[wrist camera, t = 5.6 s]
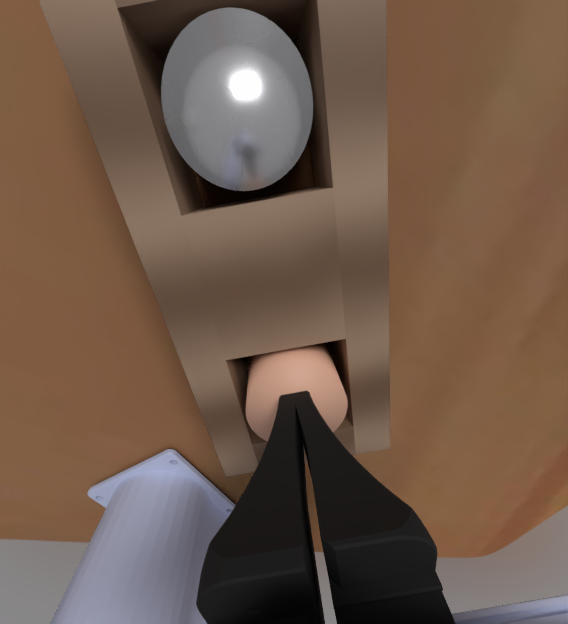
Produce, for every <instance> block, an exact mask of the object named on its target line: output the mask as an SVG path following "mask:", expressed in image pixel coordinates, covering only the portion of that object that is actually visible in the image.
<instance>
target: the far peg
mask: <svg viewBox="0 0 568 624" xmlns="http://www.w3.org/2000/svg"><path fill="white" fill-rule="evenodd" d="M301 391H308V392H310V395H311V398H312V400H313V402H314V404H315V406H316V408H317V409H318V411H319V413H320V414H321V416H322V417H323V419H324V420H325V422H326V423H327V425H328V426H329V428H330V429H331V431H332V432H334V431H335V430H336V429H337V428H338V427H339V426H340V425H341V423H342V422H343V420H344V418H345V415H346V412H347V407H348V401H347V396H346V393H345V391H344V388H343V386H342V383H341V381H340V378H339V375H338V373H337V370H336V368H335V365H334V363H333V360H332V358H331V355H330V353H329V350H328V347H327V345H326V344H325V343H319V344H314V345H308V346H303V347H297V348H292V349H286V350H280V351H275V352H269V353H264V354H258V355H253V356H250V361H249V373H248V386H247V398H246V418H247V421H248V424H249V425H250V427H251V429H252V430H253V431H254V432H255V433H256V434H257V435H258V436H259V437H261V438H262V439H264V440H266V441H268V439H269V437H270V434H271V431H272V428H273V424H274V421H275V417H276V413H277V409H278V403H279V397H280V396H281V395H285V394H290V393H296V392H301ZM303 446H304V445H303Z"/></svg>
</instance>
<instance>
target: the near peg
mask: <svg viewBox="0 0 568 624" xmlns="http://www.w3.org/2000/svg"><path fill="white" fill-rule="evenodd" d="M161 101H162V109H163V114H164V119H165V123H166V126H167V129H168V132H169V134H170V137H171V139H172V141H173V143H174V145H175V147H176V148H177V150H178V152H179V153H180V155H181V156H182V157H183V159H184V160H185V161H186V162H187V164H188V165H189V166H190V167H191V168H192V169H193V170H194V171H195V172H197V173H198V174H199V175H200V176H201V177H203V178H204V179H206V180H208V181H209V182H211V183H213V184H215V185H217V186H219V187H223V188H226V189H230V190H236V191H251V190H257V189H261V188H264V187H266V186H269V185H271V184H273V183H274V182H276V181H278V180H279V179H281V178H282V177H283V176H284V175H286V174H287V173H288V172H289V171H290V170H291V168H292V167H293V166H294V165H295V163H296V162H297V161H298V159H299V158H300V156H301V154H302V152H303V151H304V148H305V146H306V143H307V141H308V138H309V134H310V131H311V125H312V119H313V95H312V88H311V83H310V79H309V75H308V72H307V69H306V66H305V64H304V61H303V59H302V57H301V55H300V53H299V52H298V50H297V48H296V47H295V45H294V44H293V42H292V41H291V39H290V38H289V37H288V36H287V35H286V34H285V33H284V31H283V30H282V29H280V28H279V27H278V26H277V25H276V24H275V23H273V22H272V21H270V20H269V19H267V18H266V17H264V16H262V15H260V14H258V13H256V12H253V11H250V10H246V9H242V8H231V7H230V8H220V9H216V10H212V11H209V12H207V13H205V14H203V15H201V16H199V17H197V18H196V19H195V20H193V21H192V22H190V23H189V24H188V25H187V26H186V27H185V28H184V29H183V30H182V31H181V33H180V34H179V36H178V37H177V38H176V40H175V41H174V43H173V45H172V47H171V49H170V51H169V53H168V56H167V59H166V62H165V65H164V70H163V74H162V84H161Z"/></svg>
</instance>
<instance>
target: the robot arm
mask: <svg viewBox="0 0 568 624" xmlns="http://www.w3.org/2000/svg"><path fill="white" fill-rule="evenodd" d="M303 445H304V446H303ZM304 450H305V454H306V458H307V462H308V466H309V470H310V473H311V477H312V482H313V489H314V495H315V502H316V508H317V515H318V522H319V529H320V535H321V541H322V546H323V551H324V556H325V561H326V566H327V571H328V576H329V582H330V588H331V594H332V600H333V606H334V610H335V615H336V620H337V624H568V595H562V596H556V597H550V598H545V599H538V600H533V601H527V602H520V603H515V604H509V605H502V606H496V607H491V608H485V609H479V610H472V611H466V612H461V613H455V614H451V612H450V609H449V607H448V605H447V603H446V600H445V598H444V596H443V593H442V590H443V588H442V585H441V582H440V580H439V578H438V576H437V574H436V572H435V568H436V561H437V548H436V546H435V543H434V541H433V539H432V538H431V536H430V534H429V533H428V531H427V529H426V528H425V526H424V525H423V523H422V522H421V520H420V519H419V517H418V516H417V515H416V513H415V512H414V510H413V509H412V508H411V507H410V506H408V505H407V504H406V503H405V502H403V501H402V500H401V499H399V498H398V497H397V496H396V495H394V494H393V493H392V492H391V491H389V490H388V489H387V488H386V487H385V486H383V485H382V484H381V483H380V482H379V481H378V480H377V479H376V478H374V477H373V476H372V475H371V474H370V473H369V472H368V471H367V470H366V469H365V468H364V467H363V466H362V465H361V464H360V463H359V462H358V461H357V460H356V459H355V458H354V457H353V456H352V455H351V454H350V453H349V451H348V450H347V449H346V448H345V447H344V446H343V445H342V443H341V442H340V441H339V440H338V438H337V437H336V436H335V434H334V433H333V432H332V431H331V429H330V428H329V426H328V425H327V423H326V422H325V420H324V419H323V417H322V416H321V414H320V413H319V411H318V409H317V408H316V406H315V404H314V402H313V400H312V398H311V395H310V392H308V391H301V392H296V393H290V394H285V395H281V396H280V397H279V403H278V409H277V413H276V417H275V421H274V424H273V428H272V431H271V434H270V437H269V439H268V442H267V445H266V448H265V450H264V453H263V455H262V457H261V460H260V462H259V464H258V466H257V468H256V470H255V472H254V474H253V476H252V478H251V480H250V482H249V484H248V486H247V487H246V489H245V491H244V493H243V494H242V496H241V498H240V499H239V501H238V502H237V504H236V505H235V504H234V503H233V502H232V501H231V500H230V499H228V498H227V497H226V496H225V495H224V494H223V493H222V492H221V491H220V490H219V489H217V488H216V487H215V486H214V485H213V484H212V483H211V482H210V481H209V480H207V479H206V478H205V477H204V476H203V475H202V474H201V473H200V472H199V471H198V470H196V469H195V468H194V467H193V466H192V465H191V464H190V463H189V462H188V461H186V460H185V459H184V458H183V457H182V456H181V455H180V454H179V453H178V452H177V451H175V450H173V449H168V450H165V451H163V452H161V453H159V454H157V455H155V456H153V457H151V458H149V459H147V460H145V461H143V462H141V463H139V464H137V465H135V466H133V467H131V468H129V469H127V470H125V471H123V472H121V473H119V474H116V475H114V476H112V477H110V478H108V479H106V480H104V481H102V482H100V483H98V484H96V485H94V486H92V487H91V488H90V489H89V491H88V496H89V497H90V498H92V499H93V500H95V501H96V502H98V503H99V504H101V505H102V506H104V507H105V508H106V510H105V512H104V514H103V516H102V518H101V520H100V522H99V524H98V526H97V528H96V530H95V532H94V534H93V536H92V538H91V541H90V543H89V545H88V547H87V549H86V551H85V553H84V555H83V557H82V559H81V561H80V563H79V565H78V567H77V569H76V571H75V573H74V576H73V578H72V580H71V582H70V584H69V586H68V588H67V590H66V592H65V594H64V596H63V598H62V600H61V603H60V604H59V606H58V609H57V610H56V612H55V615H54V617H53V619H52V621H51V623H50V624H325V620H324V614H323V607H322V602H321V594H320V588H319V581H318V574H317V567H316V560H315V554H314V547H313V540H312V533H311V526H310V519H309V512H308V504H307V493H306V477H305V461H304Z"/></svg>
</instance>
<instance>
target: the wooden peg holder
mask: <svg viewBox="0 0 568 624" xmlns="http://www.w3.org/2000/svg"><path fill="white" fill-rule="evenodd" d="M39 2H40V5H41V7H42V10H43V12H44V15H45V17H46V20H47V22H48V25H49V27H50V30H51V33H52V35H53V38H54V40H55V43H56V45H57V48H58V50H59V53H60V55H61V58H62V61H63V63H64V66H65V68H66V71H67V73H68V76H69V78H70V81H71V83H72V86H73V89H74V91H75V94H76V96H77V99H78V101H79V104H80V106H81V109H82V111H83V114H84V117H85V119H86V122H87V124H88V127H89V129H90V132H91V134H92V137H93V139H94V142H95V145H96V147H97V150H98V152H99V155H100V157H101V160H102V162H103V165H104V167H105V170H106V173H107V175H108V178H109V180H110V183H111V185H112V188H113V190H114V193H115V195H116V198H117V201H118V203H119V206H120V208H121V211H122V213H123V216H124V218H125V221H126V223H127V226H128V229H129V231H130V234H131V236H132V239H133V241H134V244H135V246H136V249H137V251H138V254H139V257H140V259H141V262H142V264H143V267H144V269H145V272H146V274H147V277H148V279H149V282H150V285H151V287H152V290H153V292H154V295H155V297H156V300H157V302H158V305H159V307H160V310H161V313H162V315H163V318H164V320H165V323H166V325H167V328H168V330H169V333H170V336H171V338H172V341H173V343H174V346H175V348H176V351H177V353H178V356H179V358H180V361H181V364H182V366H183V369H184V371H185V374H186V376H187V379H188V381H189V384H190V386H191V389H192V392H193V394H194V397H195V399H196V402H197V404H198V407H199V409H200V412H201V414H202V417H203V420H204V422H205V425H206V427H207V430H208V432H209V435H210V437H211V440H212V442H213V445H214V448H215V450H216V453H217V455H218V458H219V460H220V463H221V465H222V468H223V470H224V473H225V476H226V477H229V476H235V475H241V474H246V473H252V472H255V470H256V468H257V466H258V464H259V462H260V460H261V457H262V455H263V453H264V450H265V448H266V445H267V442H268V441H266V440H264V439H262V438H261V437H259V436H258V435H257V434H256V433H255V432H254V431H253V430H252V429H251V427H250V425H249V424H248V421H247V418H246V398H247V386H248V370H247V366H246V363H245V359H244V357H247V356H253V355H258V354H264V353H269V352H275V351H280V350H286V349H292V348H297V347H303V346H308V345H314V344H319V343H325V342H330V341H332V347H333V356H334V365H335V368H336V370H337V373H338V375H339V378H340V381H341V383H342V386H343V388H344V391H345V393H346V396H347V401H348V407H347V412H346V415H345V418H344V420H343V422H342V423H341V425H340V426H339V427H338V428H337V429H336V430H335V431H334V432H333V433H334V434H335V436H336V437H337V438H338V440H339V441H340V442H341V443H342V445H343V446H344V447H345V448H346V449H347V450H348V451H349V453H350V454H351V455H355V454H360V453H366V452H372V451H377V450H383V449H389V448H390V371H389V258H388V145H387V32H386V0H39ZM230 7H231V8H242V9H246V10H250V11H253V12H256V13H258V14H260V15H262V16H264V17H266V18H267V19H269V20H270V21H272V22H273V23H275V24H276V25H277V26H278V27H279V28H280V29H282V30H283V31H284V33H285V34H286V35H287V36H288V37H289V38H290V39H291V40H293V39H298V40H299V49H300V55H301V57H302V59H303V61H304V64H305V66H306V69H307V72H308V75H309V79H310V83H311V88H312V95H313V119H312V125H311V131H310V134H309V140H310V149H311V158H312V167H313V176H314V185H315V187H312V188H307V189H301V190H296V191H291V192H285V193H280V194H274V195H269V196H264V197H258V198H253V199H247V200H242V201H237V202H231V203H226V204H220V205H215V206H210V207H204V208H203V206H202V202H201V198H200V195H199V191H198V188H197V184H196V180H195V177H194V173H193V169H192V168H191V167H190V166H189V165H188V164H187V162H186V161H185V160H184V159H183V157H182V156H181V155H180V153H179V152H178V150H177V148H176V147H175V145H174V143H173V141H172V139H171V137H170V134H169V132H168V129H167V126H166V123H165V119H164V114H163V109H162V101H161V84H162V74H163V70H164V64H165V62H166V59H167V56H168V53H169V51H170V49H171V47H172V45H173V43H174V41H175V40H176V38H177V37H178V36H179V34H180V33H181V31H182V30H183V29H184V28H185V27H186V26H187V25H188V24H189V23H190V22H192V21H193V20H195V19H196V18H197V17H199V16H201V15H203V14H205V13H207V12H209V11H212V10H216V9H220V8H230ZM304 461H305V463H308V462H307V458H306V454H305V450H304Z"/></svg>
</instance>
